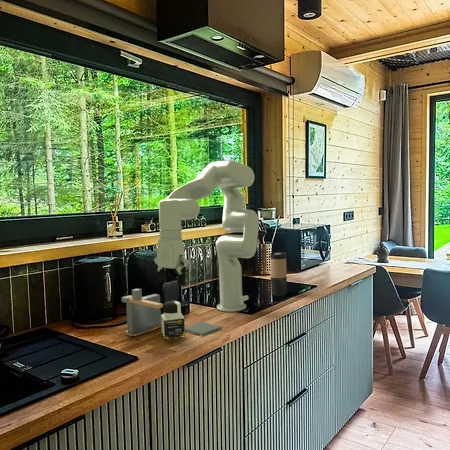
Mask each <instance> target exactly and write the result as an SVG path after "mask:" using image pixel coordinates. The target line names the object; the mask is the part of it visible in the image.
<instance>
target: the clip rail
mask: <svg viewBox="0 0 450 450" xmlns="http://www.w3.org/2000/svg"><path fill="white" fill-rule="evenodd" d="M142 299H144V300H148V301H153V302H157V303H161V295H160V294H157V293H153V294H150V295H146V296H142ZM161 309H162V308H159V309H157V308H152V307H148V306H144V305H139V304H135V303H131V302H129V303H126V324H127V330H126V331H125V333H128V334H131V335H135V334H139V333H142V332H145V331H148V330H151V329H153V328H156V327H159V326H161V315H162V310H161Z"/></svg>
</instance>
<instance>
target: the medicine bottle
mask: <svg viewBox="0 0 450 450" xmlns="http://www.w3.org/2000/svg"><path fill="white" fill-rule="evenodd" d="M162 304H163V307H162V309H163V314H162V313H161V326H162V328H161V334H163V335H162V337H163V336H164V337H163V339H164V338H175V337H182V336H185V337H186V332H185V328H186V327H185V316H184V315H183V314H182V309H181V305H182V304H181V302H179V301H177V300H169V301H166V302H164V303H162ZM175 339H176V338H175Z"/></svg>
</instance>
